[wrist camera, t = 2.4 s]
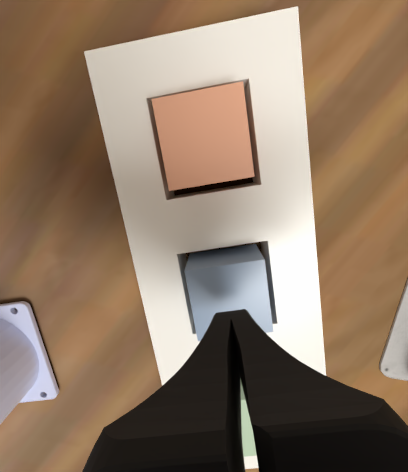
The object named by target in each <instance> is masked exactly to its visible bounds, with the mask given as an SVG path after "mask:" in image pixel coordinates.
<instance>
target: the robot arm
mask: <svg viewBox="0 0 408 472" xmlns="http://www.w3.org/2000/svg"><path fill="white" fill-rule="evenodd" d="M15 308H16V309H17V310H18V311H16V310H15ZM240 378H241V383H242V387H243V391H244V395H245V400H246V404H247V408H248V412H249V417H250V421H251V425H252V429H253V435H254V441H255V448H256V454H257V461H258V467H259V472H408V426H407V425H406V423H405V422H404V421H403V420H402V419H401V418H400V417H399V415H398V414H397V413H396V412H395V411H394V410H393V409H392V408H391V407H390V406H389V405H388V404H387V403H386V402H385V400H384V399H382V398H379V397H376V396H373V395H371V394H368V393H365V392H363V391H360V390H357V389H355V388H352V387H349V386H347V385H345V384H342V383H340V382H338V381H336V380H334V379H332V378H329V377H327V376H325V375H323V374H321V373H320V372H318V371H316V370H314V369H312V368H311V367H309V366H307V365H306V364H304V363H302V362H301V361H299V360H297V359H296V358H295V357H293V356H292V355H290V354H289V353H288V352H286V351H285V350H284V349H283V348H281V347H280V346H279V345H278V344H277V343H276V342H275V341H273V340H272V339H271V338H270V337H269V336H268V335H267V334H266V333H265V332H264V331H263V330H262V329H261V328H260V326H259V325H258V324H257V323H256V322H255V321H254V319H253V318H252V317H251V315H250V314H249V312H248V311H247V310H246V309H241V310H234V311H226V312H218V313H215V315H214V316H213V319H212V321H211V323H210V325H209V327H208V329H207V331H206V332H205V334H204V336H203V338H202V339H201V341H200V343H199V344H198V345H197V347H196V348H195V350H194V351H193V353H192V354H191V356H190V357H189V358H188V360H187V361H186V362H185V363H184V365H183V366H182V367H181V368H180V369H179V370H178V371H177V372H176V373H175V374H174V375H173V376H172V377H171V378H170V379H169V380H168V381H167V382H166V383H165V384H164V385H163V386H162V387H161V388H160V389H158V390H157V391H156V392H155V393H154V394H152V395H151V396H150V397H149V398H147V399H146V400H145V401H143V402H142V403H141V404H140V405H138V406H137V407H135V408H134V409H133V410H131V411H129V412H128V413H126V414H125V415H123V416H122V417H120V418H119V419H117V420H116V421H114V422H113V423H111V424H109V425H108V426H106V427H104V429H103V430H102V432H101V434H100V436H99V438H98V440H97V442H96V443H95V445H94V447H93V449H92V452H91V454H90V456H89V458H88V460H87V463H86V465H85V467H84V469H83V472H245V464H244V455H243V445H242V424H241V386H240ZM58 393H59V389H58V386H57V383H56V380H55V377H54V374H53V371H52V368H51V365H50V362H49V359H48V356H47V353H46V350H45V347H44V344H43V341H42V338H41V335H40V332H39V329H38V326H37V323H36V320H35V318H34V315H33V312H32V309H31V306H30V304H29V303H27V302H25V301H20V302H13V303H6V304H0V424H1V423H2V422H3V421H4V419H5V418H6V417H7V416H8V415H9V414H10V412H11V411H12V410H13V409H14V408H15V407H16V405H17V404H18V403H21V402H30V401H39V400H48V399H54V398H55V397H56V396H57V395H58Z"/></svg>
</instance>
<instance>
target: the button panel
mask: <svg viewBox="0 0 408 472" xmlns="http://www.w3.org/2000/svg"><path fill="white" fill-rule="evenodd" d="M84 54H85V58H86V62H87V67H88V71H89V75H90V79H91V84H92V88H93V92H94V96H95V101H96V105H97V109H98V114H99V118H100V122H101V126H102V131H103V135H104V139H105V143H106V148H107V152H108V156H109V160H110V165H111V169H112V173H113V177H114V182H115V186H116V190H117V195H118V199H119V203H120V207H121V212H122V216H123V220H124V224H125V229H126V233H127V237H128V241H129V246H130V250H131V254H132V258H133V263H134V267H135V271H136V276H137V280H138V284H139V288H140V293H141V297H142V301H143V305H144V310H145V314H146V318H147V322H148V327H149V331H150V335H151V339H152V344H153V348H154V352H155V356H156V361H157V365H158V369H159V374H160V378H161V382H162V386H163V385H164V384H165V383H166V382H167V381H168V380H169V379H170V378H171V377H172V376H173V375H174V374H175V373H176V372H177V371H178V370H179V369H180V368H181V367H182V366H183V365H184V363H185V362H186V361H187V360H188V358H189V357H190V356H191V354H192V353H193V351H194V350H195V348H196V347H197V345H198V344H199V343H200V341H198V339H197V334H196V329H195V324H194V318H193V313H192V308H191V303H190V298H189V292H188V287H187V282H186V277H185V272H184V271H185V267H186V264H187V259H186V254H185V253H188V252H195V251H201V250H208V249H215V248H222V247H228V246H235V245H242V244H248V243H255V242H261V250H262V256H263V257H264V259H265V266H266V275H267V283H268V291H269V299H270V307H271V316H272V324H273V332H268V333H266V334H267V335H268V336H269V337H270V338H271V339H272V340H273V341H275V342H276V343H277V344H278V345H279V346H280V347H281V348H283V349H284V350H285V351H286V352H288V353H289V354H290V355H292V356H293V357H295V358H296V359H297V360H299V361H301V362H302V363H304V364H306V365H307V366H309V367H311V368H312V369H314V370H316V371H318V372H320V373H321V374H323V375H325V376H326V369H325V356H324V343H323V330H322V317H321V304H320V290H319V277H318V264H317V251H316V238H315V225H314V212H313V199H312V186H311V173H310V159H309V146H308V133H307V120H306V107H305V94H304V81H303V68H302V55H301V42H300V28H299V15H298V6H297V7H292V8H287V9H283V10H278V11H273V12H269V13H264V14H259V15H254V16H250V17H245V18H240V19H235V20H231V21H226V22H221V23H217V24H212V25H207V26H202V27H198V28H193V29H188V30H184V31H179V32H174V33H169V34H165V35H160V36H155V37H150V38H146V39H141V40H136V41H132V42H127V43H122V44H117V45H113V46H108V47H103V48H98V49H94V50H89V51H84ZM242 81H243V85H244V93H245V101H246V110H247V118H248V126H249V134H250V143H251V151H252V159H253V167H254V176H255V177H253V183H248V184H242V185H236V186H230V187H224V188H218V189H212V190H206V191H200V192H194V193H188V194H181V195H174V190H172V191H169V188H168V183H167V178H166V173H165V167H164V162H163V157H162V152H161V147H160V141H159V136H158V131H157V126H156V121H155V115H154V110H153V105H152V100H151V99H155V98H160V97H165V96H170V95H175V94H180V93H186V92H191V91H196V90H201V89H206V88H211V87H216V86H222V85H227V84H232V83H237V82H242ZM244 464H245V469H251V468H259V467H258V461H257V456H246V457H244Z"/></svg>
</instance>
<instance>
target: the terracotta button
mask: <svg viewBox="0 0 408 472" xmlns="http://www.w3.org/2000/svg"><path fill="white" fill-rule="evenodd" d="M151 100H152V105H153V110H154V115H155V121H156V126H157V131H158V136H159V141H160V147H161V152H162V157H163V162H164V167H165V173H166V178H167V183H168V188H169V191H172V190H178V189H184V188H190V187H196V186H202V185H208V184H214V183H220V182H226V181H232V180H238V179H244V178H250V177H255V176H254V167H253V159H252V151H251V143H250V134H249V126H248V118H247V110H246V101H245V93H244V85H243V81H242V82H237V83H232V84H227V85H222V86H216V87H211V88H206V89H201V90H196V91H191V92H186V93H180V94H175V95H170V96H165V97H160V98H155V99H151Z"/></svg>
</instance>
